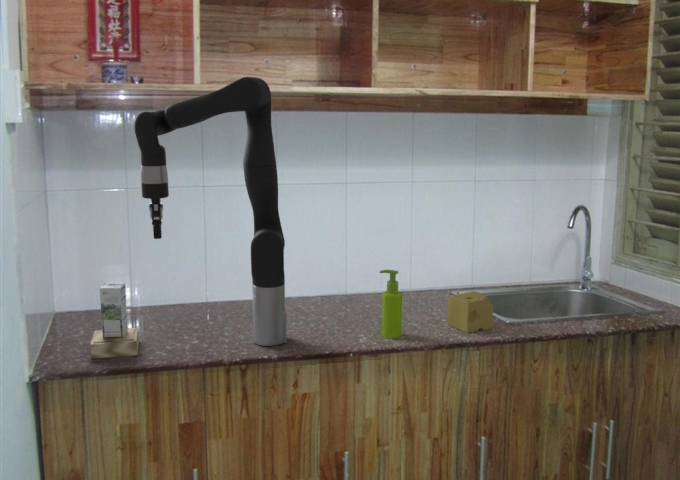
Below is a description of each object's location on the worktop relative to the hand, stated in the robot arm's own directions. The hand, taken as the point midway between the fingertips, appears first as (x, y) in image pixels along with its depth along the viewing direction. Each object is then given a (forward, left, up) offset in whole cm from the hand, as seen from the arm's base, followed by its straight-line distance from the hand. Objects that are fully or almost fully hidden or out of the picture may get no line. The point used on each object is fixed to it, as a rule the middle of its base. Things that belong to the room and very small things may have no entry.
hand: (157, 236), depth 198 cm
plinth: (+13, +12, -30) cm, 35 cm away
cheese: (-93, +16, -30) cm, 100 cm away
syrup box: (+12, +13, -26) cm, 31 cm away
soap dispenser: (-66, +18, -30) cm, 75 cm away
